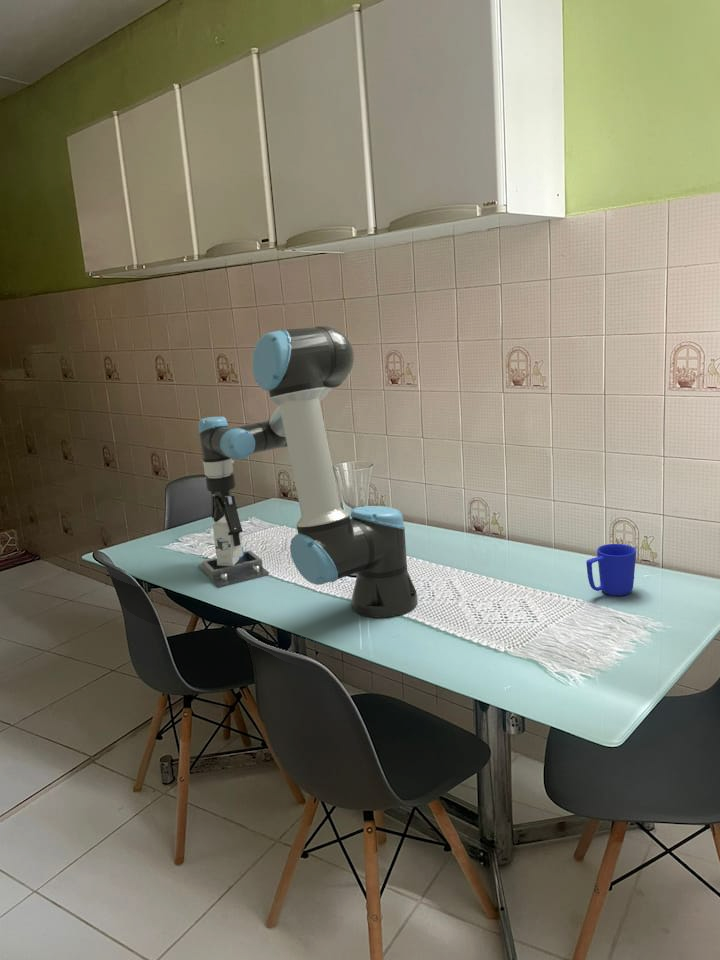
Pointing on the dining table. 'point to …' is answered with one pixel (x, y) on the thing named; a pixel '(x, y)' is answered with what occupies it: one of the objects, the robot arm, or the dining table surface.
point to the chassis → (234, 570)
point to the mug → (614, 569)
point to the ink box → (224, 543)
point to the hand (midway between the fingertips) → (230, 550)
